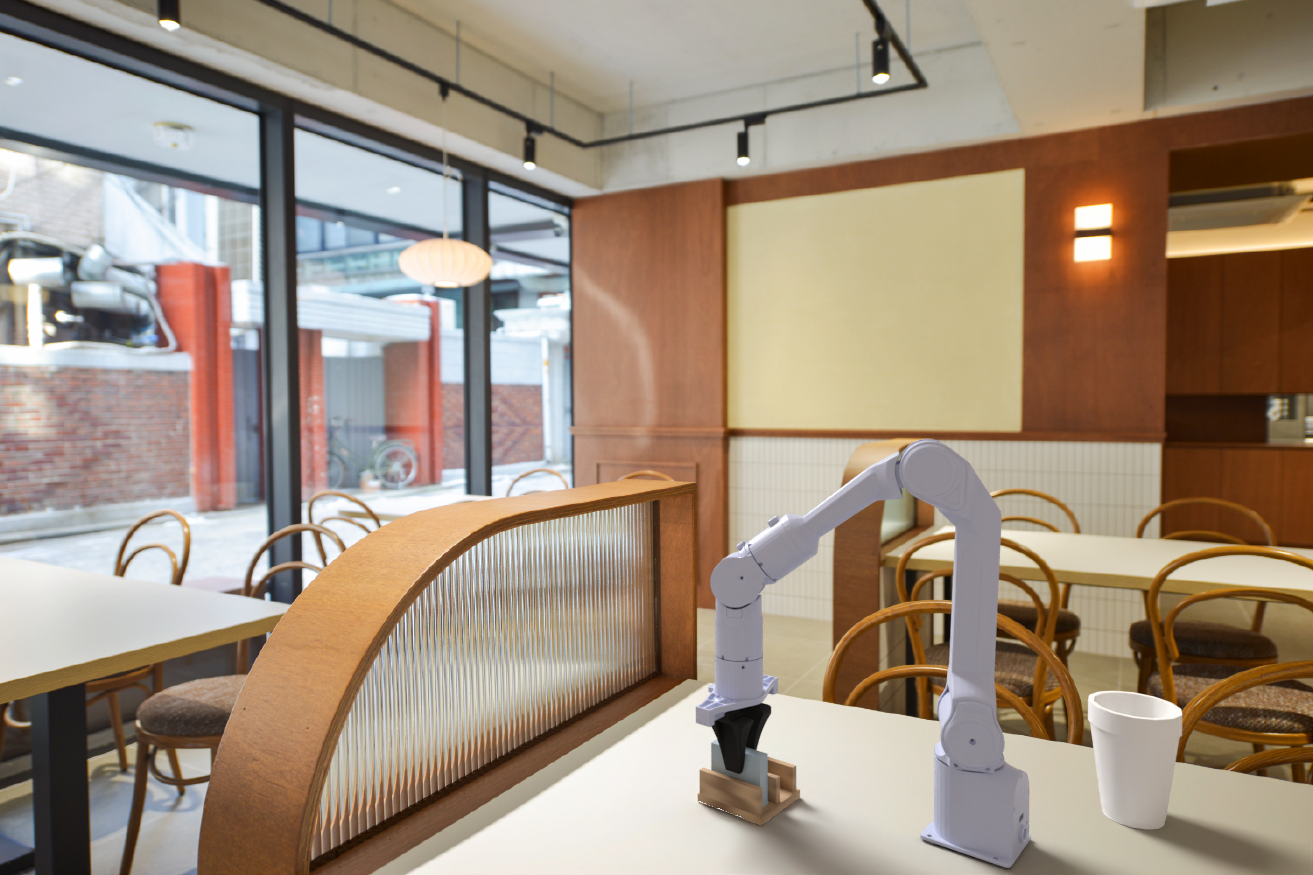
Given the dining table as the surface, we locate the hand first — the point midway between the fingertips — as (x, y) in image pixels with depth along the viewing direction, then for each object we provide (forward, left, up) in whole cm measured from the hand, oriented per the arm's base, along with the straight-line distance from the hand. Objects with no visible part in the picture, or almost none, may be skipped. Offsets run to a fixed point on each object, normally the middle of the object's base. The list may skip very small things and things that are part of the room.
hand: (739, 767), depth 96 cm
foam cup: (-37, -27, -5) cm, 46 cm away
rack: (0, -2, -5) cm, 5 cm away
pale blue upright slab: (0, 0, -4) cm, 4 cm away
